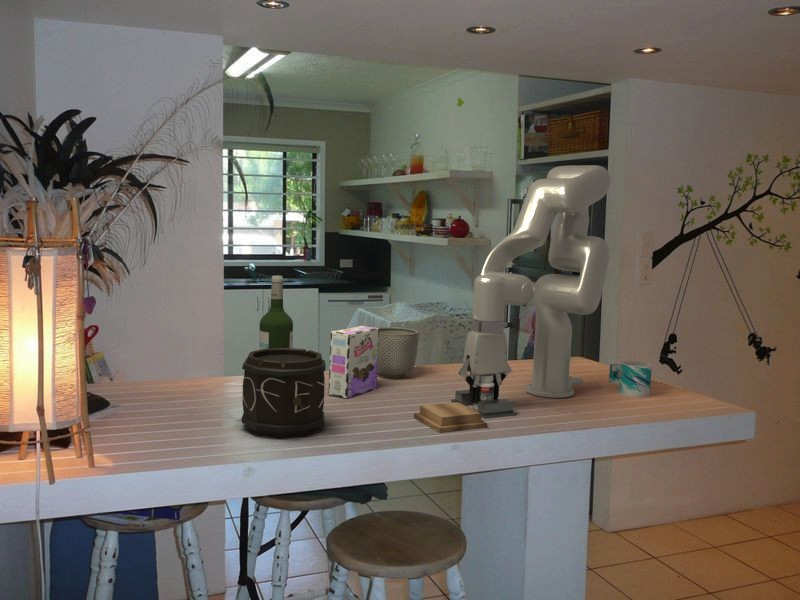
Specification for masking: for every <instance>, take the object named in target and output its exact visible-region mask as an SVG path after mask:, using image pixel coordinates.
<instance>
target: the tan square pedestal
mask: <svg viewBox="0 0 800 600" xmlns="http://www.w3.org/2000/svg"><path fill="white" fill-rule="evenodd" d="M413 419H414V420H417V421H419V422H421V424H424V425H426V427H429V428H430V429H432V430H434V431H436V432H437V433H450V432H458V431H466V430H467V431H468V430H475V429H476V430H477V429H486V428H488V422H486V421H484V420H482V417H481V413H480V412H478V410H476V409H474V408H471V407H470V406H468V405H463V404H461V403H459V402H455V403H452V402H447V403H446V402H445V403H436V404H434V403H433V404H423V405H419V412H415V413H413Z"/></svg>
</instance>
